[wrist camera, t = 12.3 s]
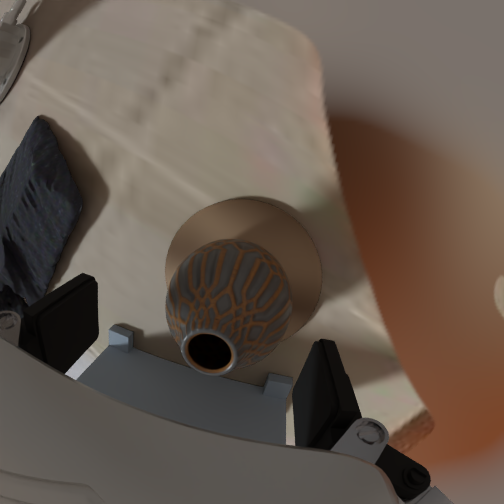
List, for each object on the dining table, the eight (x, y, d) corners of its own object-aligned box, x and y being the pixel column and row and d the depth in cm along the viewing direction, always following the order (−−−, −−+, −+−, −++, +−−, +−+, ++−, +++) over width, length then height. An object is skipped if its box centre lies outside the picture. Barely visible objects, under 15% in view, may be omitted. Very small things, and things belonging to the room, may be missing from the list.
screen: (114, 324, 22) (29, 407, 10) (292, 377, 21) (294, 505, 10) (115, 365, 23) (49, 447, 11) (275, 414, 22) (268, 526, 11)
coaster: (182, 183, 18) (179, 183, 18) (340, 223, 18) (342, 224, 17) (161, 322, 21) (158, 325, 20) (294, 358, 21) (294, 362, 20)
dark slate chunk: (118, 220, 20) (81, 231, 15) (30, 335, 25) (7, 352, 20) (45, 103, 18) (12, 96, 13) (-22, 241, 23) (-46, 249, 18)
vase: (302, 245, 18) (322, 299, 9) (274, 334, 20) (269, 425, 11) (200, 218, 18) (136, 249, 10) (183, 310, 20) (130, 384, 11)
